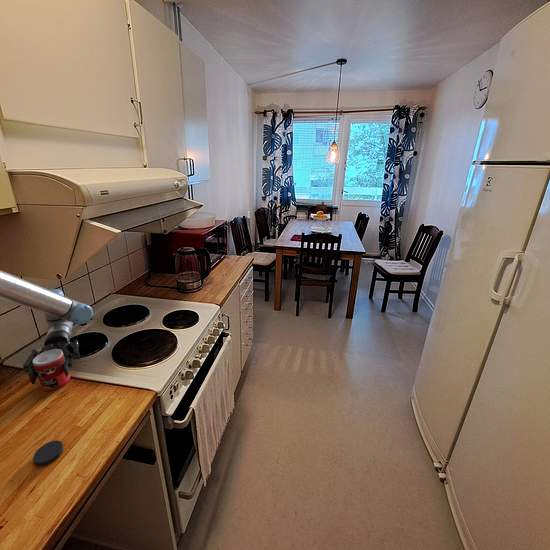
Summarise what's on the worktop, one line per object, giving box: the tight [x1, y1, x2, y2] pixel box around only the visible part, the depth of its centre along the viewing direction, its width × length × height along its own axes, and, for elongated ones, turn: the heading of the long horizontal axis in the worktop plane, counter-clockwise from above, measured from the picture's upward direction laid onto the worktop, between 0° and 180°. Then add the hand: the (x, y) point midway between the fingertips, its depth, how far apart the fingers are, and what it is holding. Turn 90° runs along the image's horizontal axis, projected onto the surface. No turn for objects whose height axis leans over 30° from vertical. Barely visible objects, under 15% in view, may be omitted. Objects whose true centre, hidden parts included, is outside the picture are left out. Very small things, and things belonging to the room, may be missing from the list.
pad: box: [32, 440, 65, 467], centre depth 73 cm, size 6×6×1 cm
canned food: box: [32, 349, 71, 392], centre depth 94 cm, size 8×8×11 cm
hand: (49, 376), depth 90 cm, fingers closed on canned food, 8 cm apart
